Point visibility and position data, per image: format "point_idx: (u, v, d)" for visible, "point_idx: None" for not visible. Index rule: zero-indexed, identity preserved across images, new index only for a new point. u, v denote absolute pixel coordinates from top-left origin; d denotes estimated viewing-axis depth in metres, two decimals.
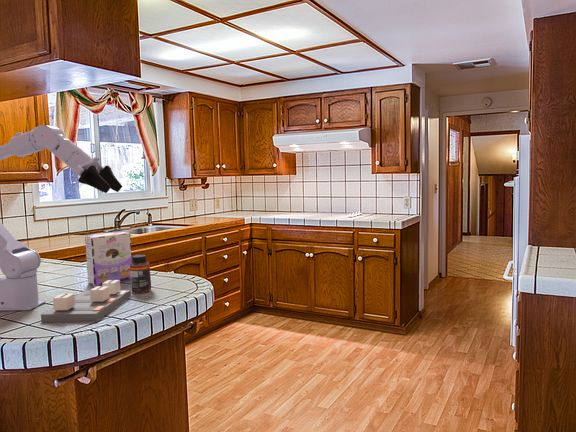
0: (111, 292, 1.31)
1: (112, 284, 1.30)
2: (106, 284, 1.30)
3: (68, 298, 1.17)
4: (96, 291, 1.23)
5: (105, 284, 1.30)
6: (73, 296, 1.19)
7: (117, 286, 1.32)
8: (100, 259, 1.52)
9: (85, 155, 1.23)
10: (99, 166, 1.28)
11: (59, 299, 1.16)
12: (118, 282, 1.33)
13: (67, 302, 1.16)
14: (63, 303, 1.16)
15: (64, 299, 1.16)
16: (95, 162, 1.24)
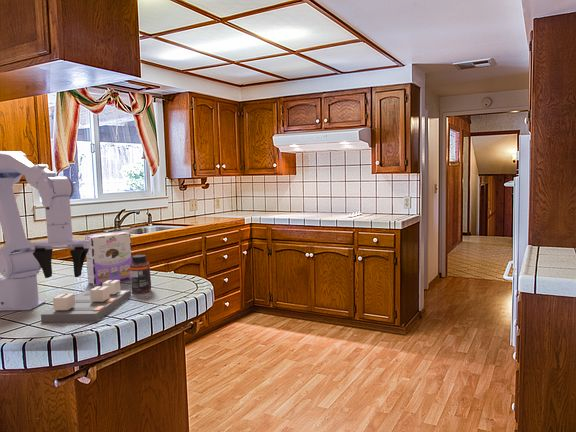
0: (111, 292, 1.31)
1: (112, 284, 1.30)
2: (106, 284, 1.30)
3: (68, 298, 1.17)
4: (96, 291, 1.23)
5: (105, 284, 1.30)
6: (73, 296, 1.19)
7: (117, 286, 1.32)
8: (100, 259, 1.52)
9: (50, 234, 1.14)
10: (73, 244, 1.15)
11: (59, 299, 1.16)
12: (118, 282, 1.33)
13: (67, 302, 1.16)
14: (63, 303, 1.16)
15: (64, 299, 1.16)
16: None
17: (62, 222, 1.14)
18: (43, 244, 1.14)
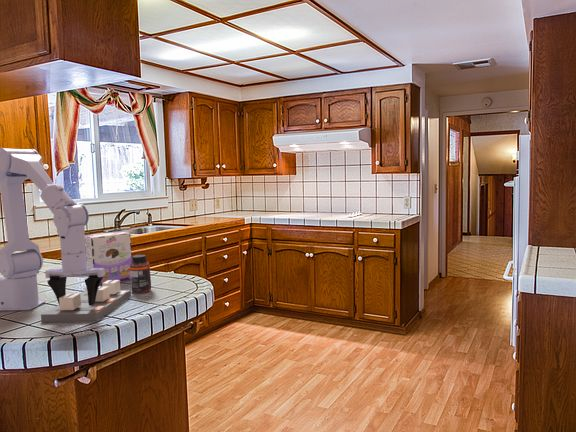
0: (111, 292, 1.31)
1: (112, 284, 1.30)
2: (106, 284, 1.30)
3: (74, 298, 1.16)
4: None
5: (105, 284, 1.30)
6: (79, 296, 1.19)
7: (117, 286, 1.32)
8: (100, 259, 1.52)
9: (64, 263, 1.14)
10: None
11: (65, 299, 1.16)
12: (118, 282, 1.33)
13: (73, 302, 1.16)
14: (69, 303, 1.16)
15: (70, 299, 1.16)
16: None
17: (78, 251, 1.14)
18: (58, 273, 1.15)
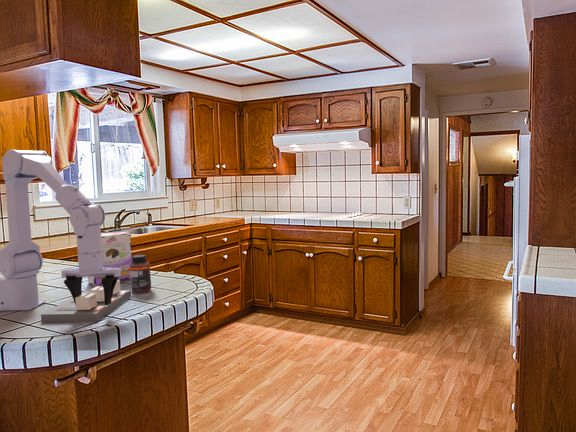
0: None
1: None
2: None
3: (90, 298, 1.16)
4: (96, 291, 1.23)
5: None
6: (95, 296, 1.19)
7: (117, 286, 1.32)
8: None
9: (81, 262, 1.14)
10: (104, 273, 1.15)
11: (81, 299, 1.15)
12: (118, 282, 1.33)
13: (89, 302, 1.16)
14: (85, 303, 1.16)
15: (87, 299, 1.15)
16: None
17: (95, 251, 1.14)
18: (74, 272, 1.15)
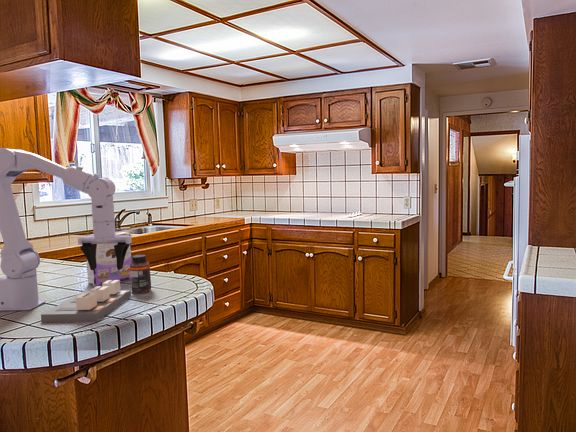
0: (111, 292, 1.31)
1: (112, 284, 1.30)
2: (106, 284, 1.30)
3: (90, 298, 1.16)
4: (96, 291, 1.23)
5: (105, 284, 1.30)
6: (95, 296, 1.19)
7: (117, 286, 1.32)
8: (100, 259, 1.52)
9: (96, 230, 1.25)
10: (116, 240, 1.27)
11: (82, 299, 1.15)
12: (118, 282, 1.33)
13: (90, 302, 1.16)
14: (86, 303, 1.16)
15: (87, 299, 1.15)
16: None
17: (112, 219, 1.27)
18: (89, 239, 1.26)
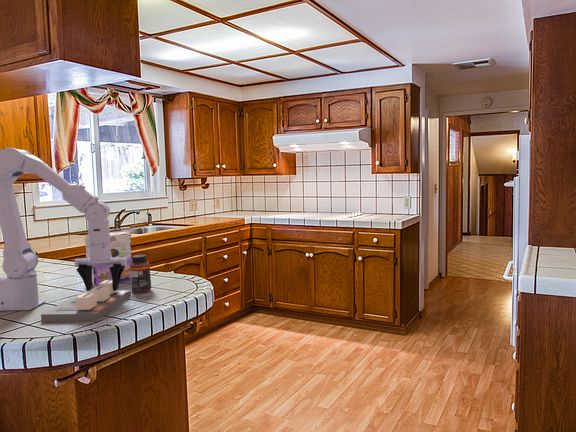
0: None
1: (109, 284, 1.30)
2: (103, 284, 1.30)
3: (90, 298, 1.16)
4: (96, 291, 1.23)
5: (102, 284, 1.30)
6: (95, 296, 1.19)
7: None
8: None
9: (92, 253, 1.29)
10: (112, 262, 1.30)
11: (82, 299, 1.15)
12: None
13: (90, 302, 1.16)
14: (86, 303, 1.16)
15: (87, 299, 1.15)
16: None
17: (109, 241, 1.31)
18: (86, 261, 1.30)
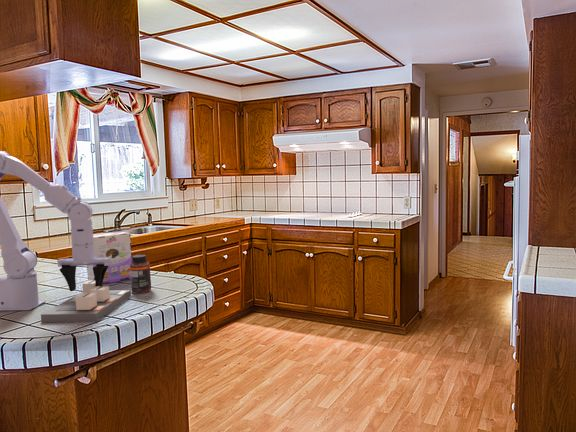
0: None
1: (92, 284, 1.30)
2: (86, 284, 1.31)
3: (90, 298, 1.16)
4: (96, 291, 1.23)
5: (85, 284, 1.31)
6: (95, 296, 1.19)
7: None
8: None
9: (75, 253, 1.29)
10: None
11: (82, 299, 1.15)
12: None
13: (90, 302, 1.16)
14: (86, 303, 1.16)
15: (87, 299, 1.15)
16: None
17: (92, 241, 1.31)
18: (69, 262, 1.30)
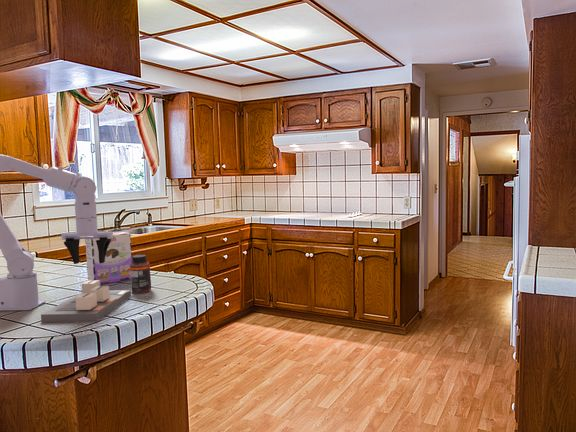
0: None
1: (91, 284, 1.31)
2: (85, 284, 1.31)
3: (90, 298, 1.16)
4: (96, 291, 1.23)
5: (84, 284, 1.31)
6: (95, 296, 1.19)
7: None
8: None
9: (79, 226, 1.32)
10: None
11: (82, 299, 1.15)
12: (98, 282, 1.33)
13: (90, 302, 1.16)
14: (86, 303, 1.16)
15: (87, 299, 1.15)
16: (82, 236, 1.33)
17: (96, 215, 1.35)
18: (73, 235, 1.33)
